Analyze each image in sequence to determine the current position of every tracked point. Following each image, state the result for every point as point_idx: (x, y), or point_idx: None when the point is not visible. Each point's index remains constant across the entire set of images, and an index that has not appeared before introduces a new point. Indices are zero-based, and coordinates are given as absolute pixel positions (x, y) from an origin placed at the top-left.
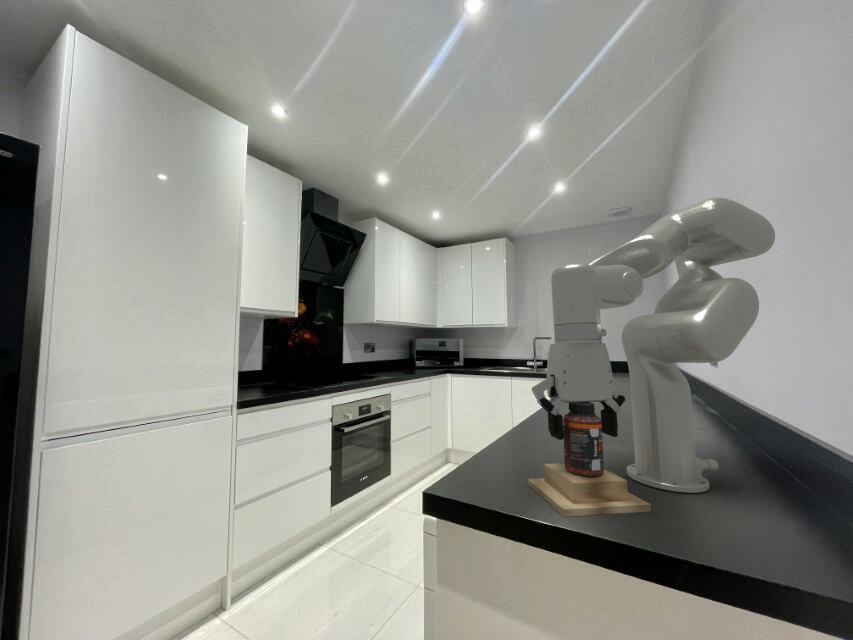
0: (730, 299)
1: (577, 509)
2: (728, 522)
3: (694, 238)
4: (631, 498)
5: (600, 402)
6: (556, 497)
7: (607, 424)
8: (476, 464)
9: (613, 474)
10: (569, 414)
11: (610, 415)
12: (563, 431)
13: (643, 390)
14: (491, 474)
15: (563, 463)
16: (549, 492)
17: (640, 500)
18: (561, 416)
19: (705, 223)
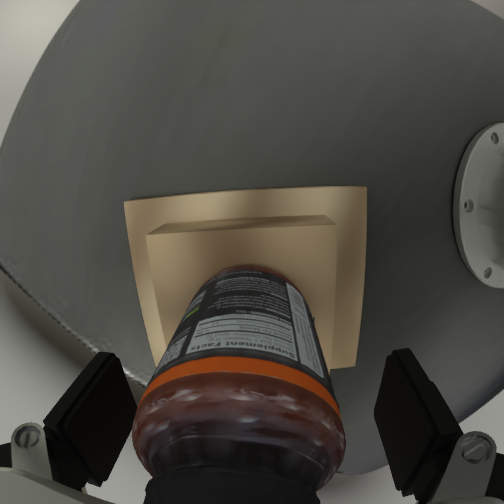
0: None
1: None
2: (433, 382)
3: None
4: (339, 341)
5: (428, 502)
6: (159, 323)
7: (393, 421)
8: (58, 52)
9: (328, 343)
10: (154, 469)
11: (397, 479)
12: (156, 368)
13: None
14: (66, 123)
15: (219, 232)
16: (152, 296)
17: (350, 350)
18: (100, 482)
19: None
